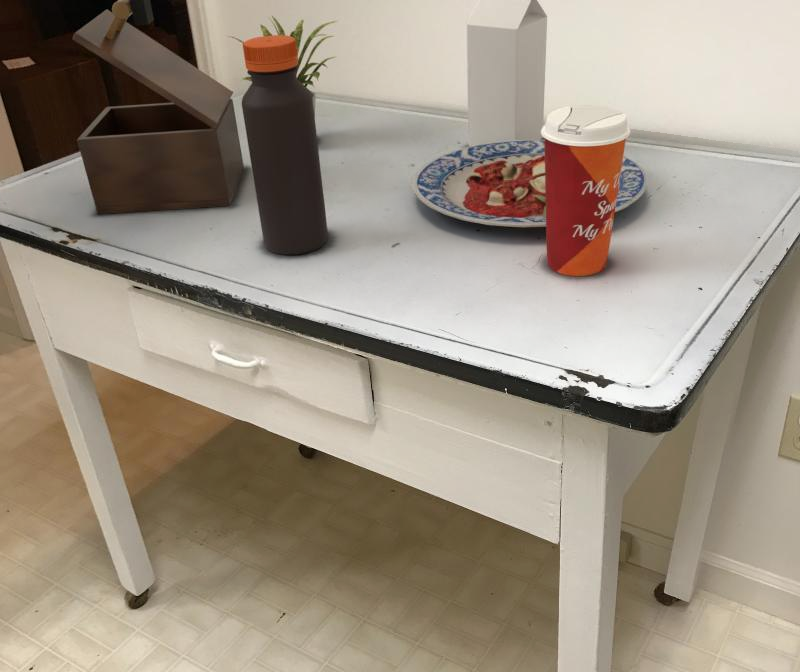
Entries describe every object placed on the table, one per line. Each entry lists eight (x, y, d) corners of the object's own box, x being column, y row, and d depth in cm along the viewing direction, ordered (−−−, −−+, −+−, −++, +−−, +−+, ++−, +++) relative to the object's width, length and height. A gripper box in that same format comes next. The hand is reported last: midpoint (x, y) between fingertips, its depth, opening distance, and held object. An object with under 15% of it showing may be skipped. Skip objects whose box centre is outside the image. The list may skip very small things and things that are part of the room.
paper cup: (596, 288, 78) (609, 135, 70) (521, 270, 81) (525, 123, 73) (631, 255, 83) (646, 108, 75) (558, 239, 87) (566, 98, 79)
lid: (71, 39, 89) (91, -5, 86) (103, 15, 99) (122, -25, 97) (214, 129, 94) (236, 90, 92) (230, 97, 105) (250, 61, 102)
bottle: (258, 257, 87) (224, 51, 76) (270, 229, 93) (240, 34, 82) (324, 255, 87) (299, 47, 75) (332, 228, 92) (310, 30, 81)
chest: (97, 214, 100) (76, 139, 95) (123, 176, 110) (106, 106, 105) (230, 205, 99) (216, 130, 94) (244, 168, 110) (232, 98, 105)
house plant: (376, 134, 118) (367, 6, 108) (314, 166, 109) (298, 29, 99) (296, 122, 125) (281, 0, 115) (231, 151, 115) (209, 22, 106)
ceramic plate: (405, 166, 107) (403, 142, 105) (608, 149, 107) (610, 125, 106) (424, 254, 86) (423, 226, 84) (678, 232, 86) (682, 204, 85)
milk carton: (515, 155, 108) (518, -9, 97) (467, 147, 111) (465, -13, 100) (543, 139, 112) (549, -20, 101) (496, 131, 116) (497, -23, 105)
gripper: (164, -249, 83) (209, 12, 97) (32, -240, 83) (95, 19, 97) (147, -254, 77) (197, 26, 91) (4, -244, 77) (75, 33, 91)
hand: (144, 22), depth 94 cm, fingers closed
